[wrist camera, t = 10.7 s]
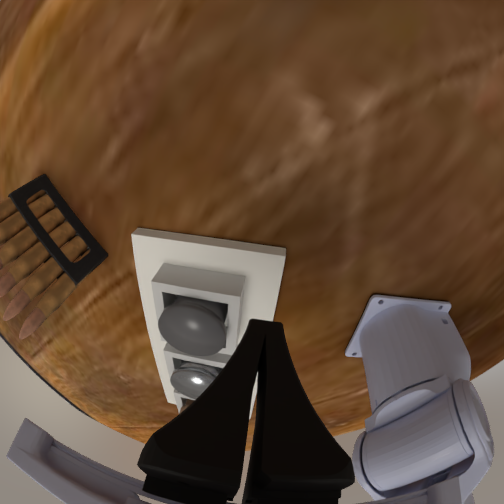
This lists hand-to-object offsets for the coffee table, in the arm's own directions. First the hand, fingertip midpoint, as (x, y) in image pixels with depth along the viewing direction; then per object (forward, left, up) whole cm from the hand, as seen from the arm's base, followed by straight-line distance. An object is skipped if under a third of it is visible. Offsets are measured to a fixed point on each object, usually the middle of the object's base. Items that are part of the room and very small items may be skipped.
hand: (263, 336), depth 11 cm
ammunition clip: (+19, +1, -10) cm, 22 cm away
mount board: (+5, +15, -10) cm, 18 cm away
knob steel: (+5, +14, -9) cm, 18 cm away
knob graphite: (+5, +6, -9) cm, 12 cm away
